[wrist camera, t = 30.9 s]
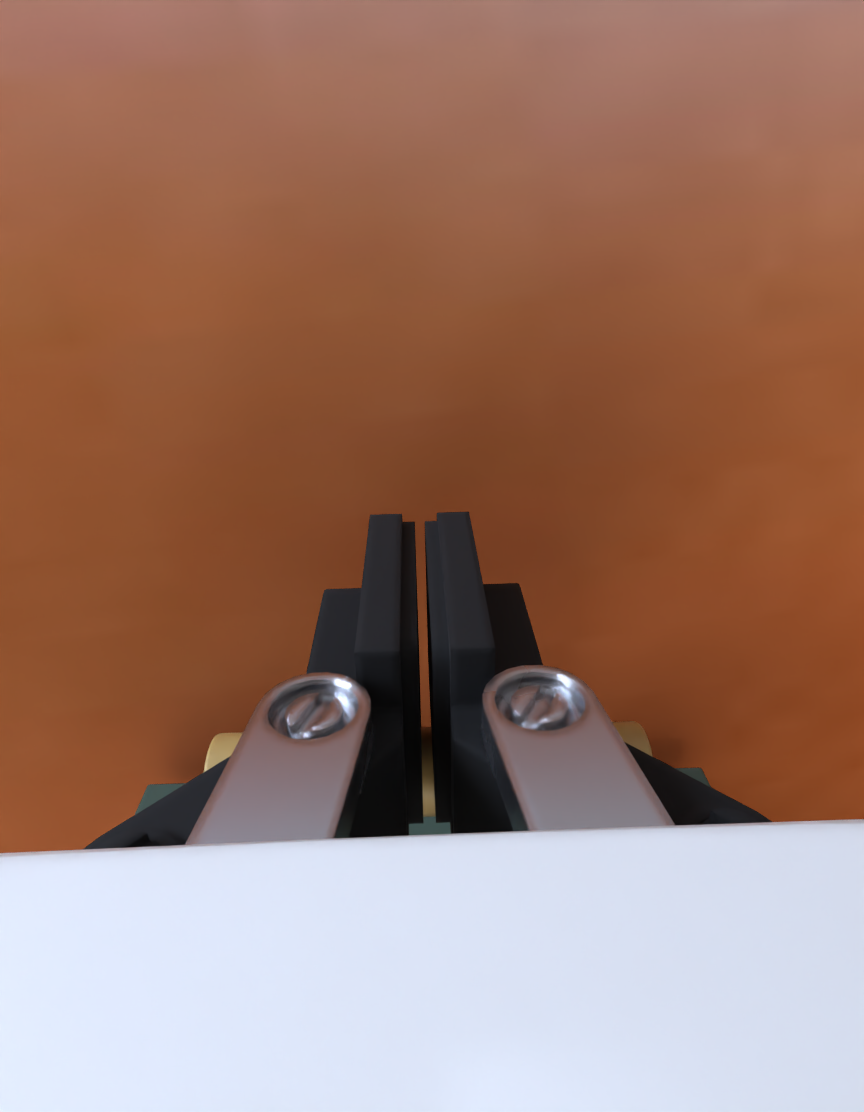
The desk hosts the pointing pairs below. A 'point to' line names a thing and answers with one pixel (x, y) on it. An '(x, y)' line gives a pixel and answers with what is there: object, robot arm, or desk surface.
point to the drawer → (227, 742)
